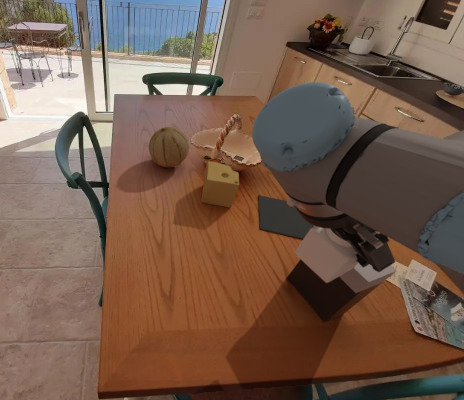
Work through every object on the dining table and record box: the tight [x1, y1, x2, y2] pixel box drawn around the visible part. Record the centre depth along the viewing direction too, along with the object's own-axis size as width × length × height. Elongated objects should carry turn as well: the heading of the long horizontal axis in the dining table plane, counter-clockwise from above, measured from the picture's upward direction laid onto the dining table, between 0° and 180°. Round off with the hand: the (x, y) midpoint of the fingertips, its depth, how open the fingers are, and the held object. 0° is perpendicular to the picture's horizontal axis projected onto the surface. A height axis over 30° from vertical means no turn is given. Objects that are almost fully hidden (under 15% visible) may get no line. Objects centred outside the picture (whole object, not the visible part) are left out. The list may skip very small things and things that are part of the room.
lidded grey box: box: [286, 258, 398, 323], centre depth 59 cm, size 8×12×18 cm, turn 20°
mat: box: [257, 194, 315, 240], centre depth 84 cm, size 16×16×1 cm
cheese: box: [200, 160, 240, 209], centre depth 87 cm, size 10×11×10 cm
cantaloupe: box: [148, 126, 190, 168], centre depth 98 cm, size 15×15×15 cm
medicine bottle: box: [294, 226, 379, 283], centre depth 45 cm, size 7×7×12 cm
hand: (347, 242), depth 48 cm, fingers closed on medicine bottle, 8 cm apart
